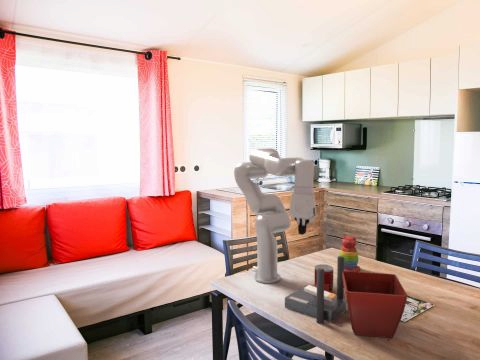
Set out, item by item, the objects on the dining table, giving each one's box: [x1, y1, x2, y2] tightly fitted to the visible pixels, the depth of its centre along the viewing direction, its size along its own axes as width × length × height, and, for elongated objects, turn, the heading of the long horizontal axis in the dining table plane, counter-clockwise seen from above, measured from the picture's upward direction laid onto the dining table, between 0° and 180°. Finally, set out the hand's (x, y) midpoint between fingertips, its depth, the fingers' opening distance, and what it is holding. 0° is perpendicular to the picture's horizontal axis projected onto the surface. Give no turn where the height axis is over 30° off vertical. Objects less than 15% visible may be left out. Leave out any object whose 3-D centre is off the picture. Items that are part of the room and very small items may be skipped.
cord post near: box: [315, 268, 325, 325], centre depth 134 cm, size 3×3×20 cm
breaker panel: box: [284, 287, 347, 324], centre depth 145 cm, size 20×13×6 cm, turn 50°
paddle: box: [303, 284, 337, 302], centre depth 143 cm, size 12×4×1 cm, turn 50°
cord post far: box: [336, 255, 345, 300], centre depth 147 cm, size 3×3×20 cm
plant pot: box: [342, 271, 408, 339], centre depth 130 cm, size 19×19×17 cm
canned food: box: [313, 263, 334, 293], centre depth 161 cm, size 8×8×11 cm
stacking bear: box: [338, 235, 361, 272], centre depth 186 cm, size 11×10×18 cm
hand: (302, 233), depth 152 cm, fingers closed
